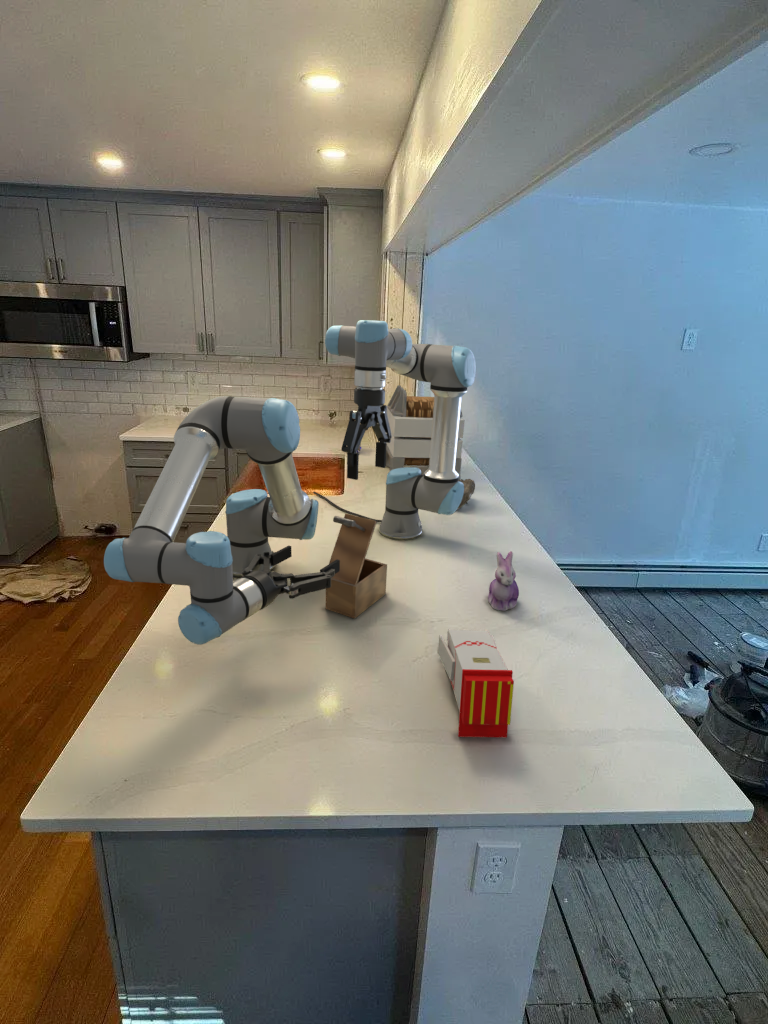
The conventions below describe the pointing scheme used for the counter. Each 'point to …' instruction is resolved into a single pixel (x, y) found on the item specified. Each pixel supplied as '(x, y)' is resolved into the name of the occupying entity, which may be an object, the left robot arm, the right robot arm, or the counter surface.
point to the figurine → (503, 584)
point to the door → (352, 546)
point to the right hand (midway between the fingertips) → (366, 472)
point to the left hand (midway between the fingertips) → (313, 557)
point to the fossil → (467, 491)
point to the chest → (358, 590)
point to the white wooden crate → (413, 431)
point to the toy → (478, 682)
